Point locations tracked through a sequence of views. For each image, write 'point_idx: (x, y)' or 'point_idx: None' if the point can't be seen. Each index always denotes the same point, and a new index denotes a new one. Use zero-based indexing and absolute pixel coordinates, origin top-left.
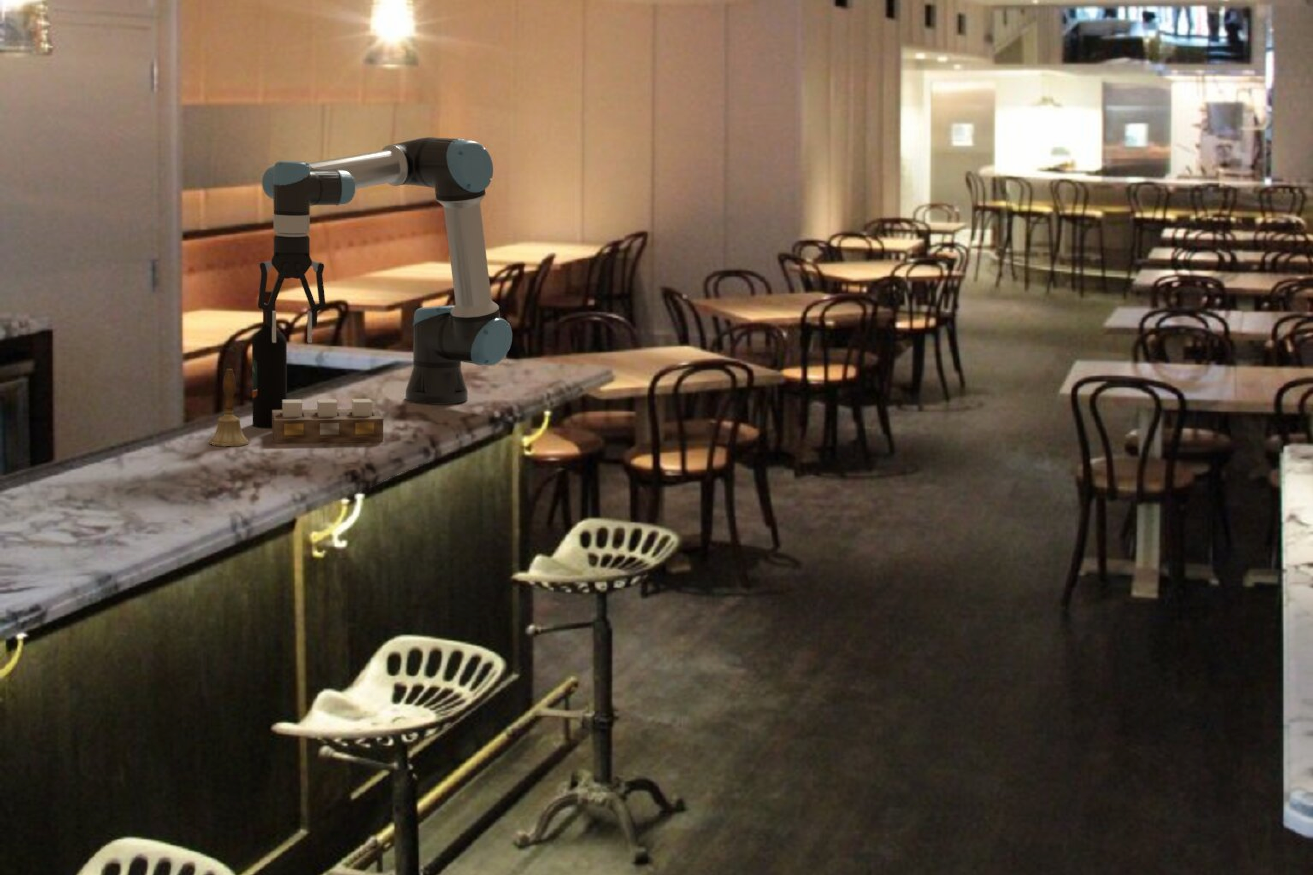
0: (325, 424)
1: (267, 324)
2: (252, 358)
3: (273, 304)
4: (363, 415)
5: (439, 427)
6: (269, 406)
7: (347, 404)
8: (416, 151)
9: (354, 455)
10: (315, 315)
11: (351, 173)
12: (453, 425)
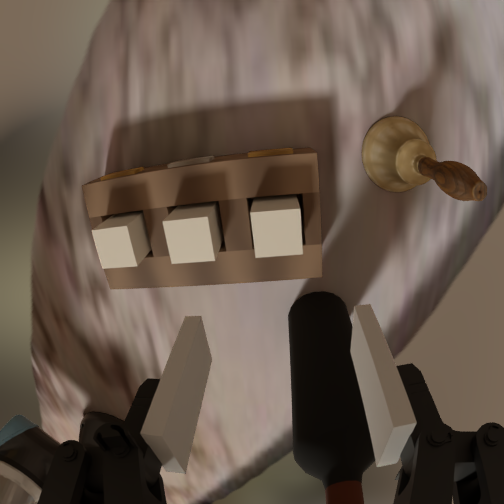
0: (197, 160)
1: (416, 371)
2: None
3: (421, 472)
4: (120, 218)
5: (55, 293)
6: (325, 315)
7: (206, 429)
8: None
9: (146, 44)
10: (132, 425)
11: None
12: (45, 305)
